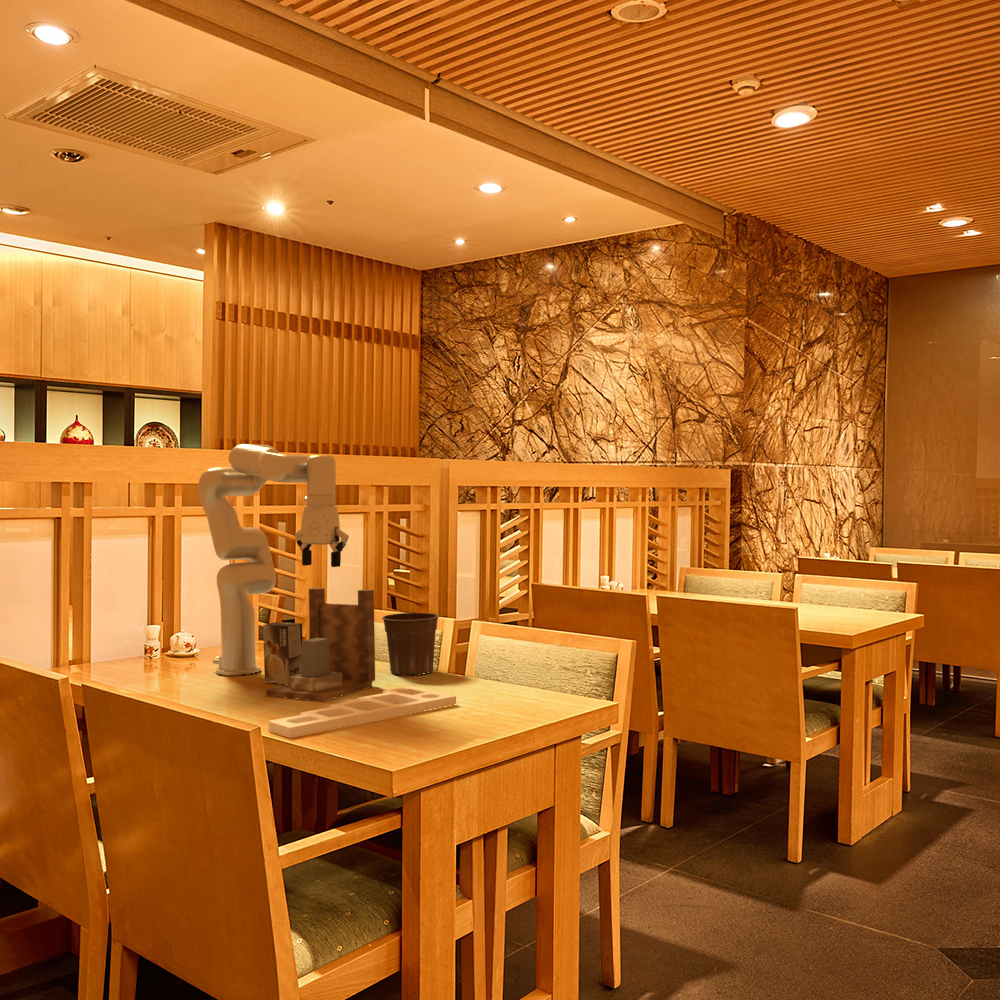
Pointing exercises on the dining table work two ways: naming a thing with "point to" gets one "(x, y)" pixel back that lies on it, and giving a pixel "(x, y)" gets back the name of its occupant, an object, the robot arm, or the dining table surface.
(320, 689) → the wooden display stand
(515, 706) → the dining table surface
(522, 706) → the dining table surface
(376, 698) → the holder
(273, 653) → the coffee box
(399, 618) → the plant pot
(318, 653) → the plain rectangular block
